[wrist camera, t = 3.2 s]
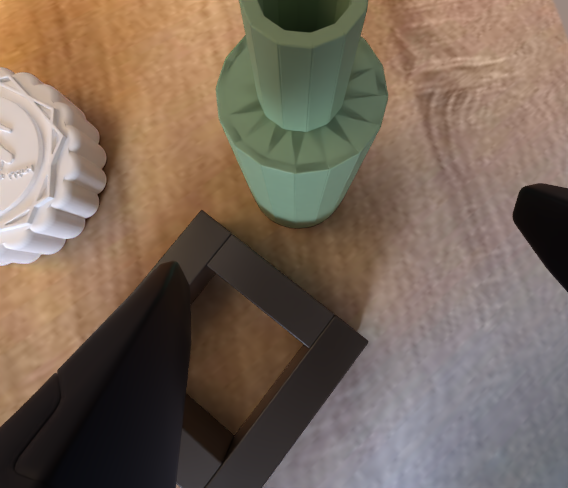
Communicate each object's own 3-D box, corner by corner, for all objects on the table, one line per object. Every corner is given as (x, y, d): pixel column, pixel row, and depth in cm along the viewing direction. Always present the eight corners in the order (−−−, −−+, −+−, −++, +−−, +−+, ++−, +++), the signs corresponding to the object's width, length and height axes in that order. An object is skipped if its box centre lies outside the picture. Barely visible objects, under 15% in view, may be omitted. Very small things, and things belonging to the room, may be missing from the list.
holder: (357, 333, 20) (369, 341, 17) (239, 492, 19) (228, 533, 16) (215, 221, 21) (201, 209, 18) (97, 364, 20) (60, 378, 17)
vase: (362, 175, 21) (487, -38, 8) (306, 247, 21) (329, 161, 7) (290, 123, 22) (282, -160, 8) (233, 191, 22) (124, 12, 8)
